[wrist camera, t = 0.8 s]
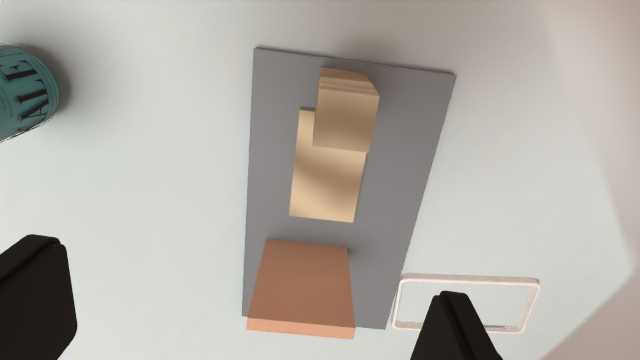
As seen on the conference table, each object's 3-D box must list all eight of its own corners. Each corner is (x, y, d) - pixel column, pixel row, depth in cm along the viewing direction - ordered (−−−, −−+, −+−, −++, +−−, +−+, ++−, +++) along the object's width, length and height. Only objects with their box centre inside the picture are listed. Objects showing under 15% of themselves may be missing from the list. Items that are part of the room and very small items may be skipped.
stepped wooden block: (304, 65, 29) (299, 86, 21) (380, 74, 29) (399, 99, 22) (289, 211, 34) (280, 267, 27) (352, 218, 35) (360, 275, 28)
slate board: (255, 47, 29) (253, 48, 28) (452, 73, 30) (456, 75, 29) (243, 309, 41) (241, 316, 40) (383, 322, 42) (385, 329, 41)
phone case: (536, 275, 40) (398, 269, 39) (543, 284, 38) (400, 278, 38) (517, 324, 43) (389, 320, 43) (523, 334, 42) (391, 329, 41)
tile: (265, 238, 36) (247, 317, 27) (346, 247, 36) (355, 328, 27) (265, 249, 36) (246, 330, 27) (344, 257, 37) (352, 340, 28)
